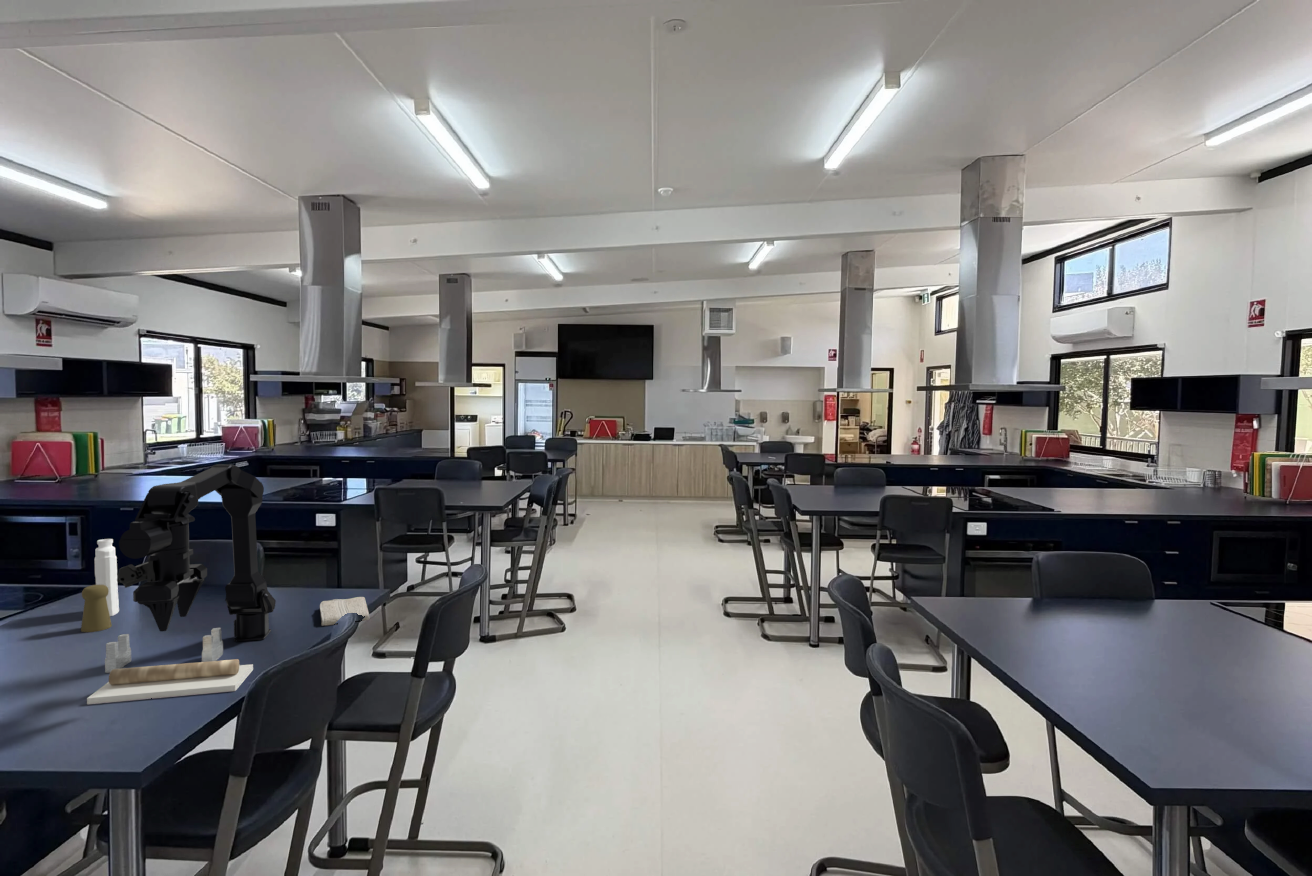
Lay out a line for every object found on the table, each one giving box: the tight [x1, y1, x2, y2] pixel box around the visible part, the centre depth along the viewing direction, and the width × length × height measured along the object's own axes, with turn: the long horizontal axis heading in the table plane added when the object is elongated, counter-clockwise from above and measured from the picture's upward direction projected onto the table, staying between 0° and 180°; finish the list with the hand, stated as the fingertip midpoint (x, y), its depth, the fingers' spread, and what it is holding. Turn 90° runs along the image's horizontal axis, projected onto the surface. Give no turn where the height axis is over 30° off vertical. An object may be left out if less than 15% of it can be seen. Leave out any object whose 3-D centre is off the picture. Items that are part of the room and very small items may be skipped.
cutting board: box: [86, 663, 254, 705], centre depth 135 cm, size 25×11×1 cm, turn 105°
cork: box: [80, 584, 112, 633], centre depth 168 cm, size 6×6×11 cm
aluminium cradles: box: [104, 627, 224, 674], centre depth 146 cm, size 20×6×6 cm, turn 105°
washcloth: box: [319, 596, 370, 627], centre depth 182 cm, size 12×18×3 cm, turn 29°
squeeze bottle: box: [94, 538, 120, 617], centre depth 180 cm, size 10×20×5 cm
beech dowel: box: [108, 658, 240, 685], centre depth 135 cm, size 22×3×3 cm, turn 105°
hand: (173, 623), depth 134 cm, fingers open, 9 cm apart
